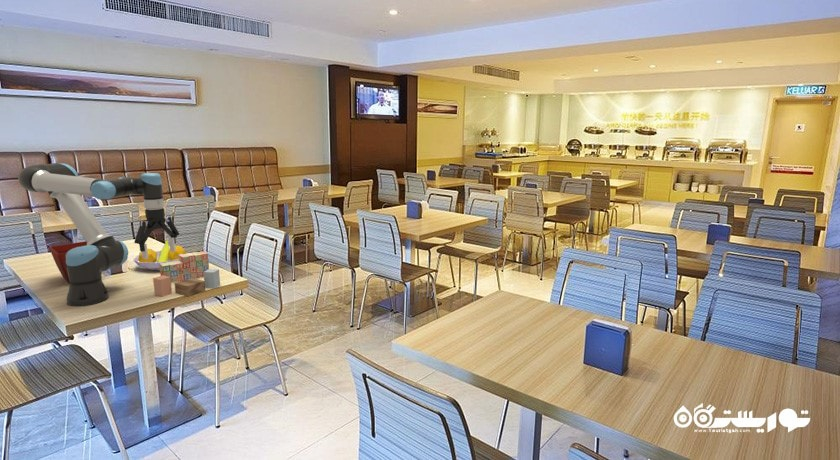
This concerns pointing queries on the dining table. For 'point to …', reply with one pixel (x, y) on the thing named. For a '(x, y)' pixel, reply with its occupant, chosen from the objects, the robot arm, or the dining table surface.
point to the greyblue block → (211, 278)
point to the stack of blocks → (186, 266)
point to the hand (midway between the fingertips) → (159, 254)
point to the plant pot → (64, 256)
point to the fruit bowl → (159, 257)
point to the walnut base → (190, 286)
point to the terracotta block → (162, 285)
